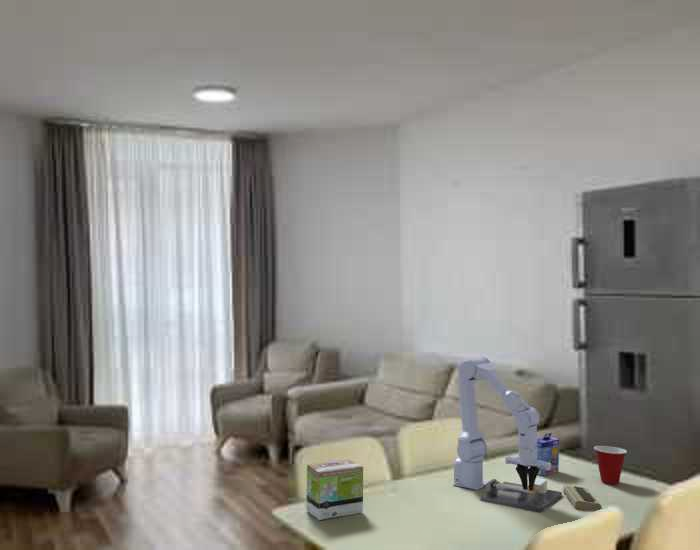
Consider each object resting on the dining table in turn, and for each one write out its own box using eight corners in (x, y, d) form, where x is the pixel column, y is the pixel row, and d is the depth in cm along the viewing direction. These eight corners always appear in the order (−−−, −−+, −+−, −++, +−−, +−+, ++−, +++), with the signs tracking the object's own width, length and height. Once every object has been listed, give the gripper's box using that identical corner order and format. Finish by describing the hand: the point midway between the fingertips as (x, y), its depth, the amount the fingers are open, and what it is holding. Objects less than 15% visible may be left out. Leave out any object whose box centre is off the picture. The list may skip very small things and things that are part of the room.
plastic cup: (633, 483, 245) (633, 448, 245) (614, 489, 239) (614, 453, 239) (607, 476, 254) (606, 442, 254) (587, 481, 248) (587, 447, 248)
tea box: (319, 521, 211) (319, 472, 211) (306, 511, 220) (305, 464, 220) (364, 513, 218) (363, 465, 218) (349, 503, 227) (348, 457, 227)
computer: (601, 510, 220) (601, 500, 220) (574, 510, 220) (574, 499, 220) (587, 494, 235) (587, 484, 235) (562, 494, 236) (562, 484, 236)
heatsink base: (480, 500, 229) (480, 486, 229) (504, 485, 245) (504, 472, 245) (540, 512, 218) (540, 497, 218) (561, 495, 233) (561, 482, 233)
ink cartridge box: (542, 476, 254) (542, 436, 254) (530, 473, 259) (529, 433, 259) (560, 471, 260) (559, 432, 260) (548, 468, 265) (547, 429, 264)
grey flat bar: (491, 488, 233) (491, 483, 233) (496, 485, 236) (496, 480, 236) (534, 495, 225) (534, 490, 225) (539, 492, 228) (538, 487, 228)
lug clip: (529, 495, 230) (529, 483, 230) (536, 489, 235) (536, 478, 235) (539, 497, 228) (539, 484, 228) (547, 491, 233) (547, 479, 233)
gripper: (501, 446, 229) (501, 488, 229) (545, 452, 220) (545, 496, 220) (510, 441, 234) (510, 482, 234) (553, 447, 226) (553, 490, 226)
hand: (528, 489), depth 228 cm, fingers closed on grey flat bar
